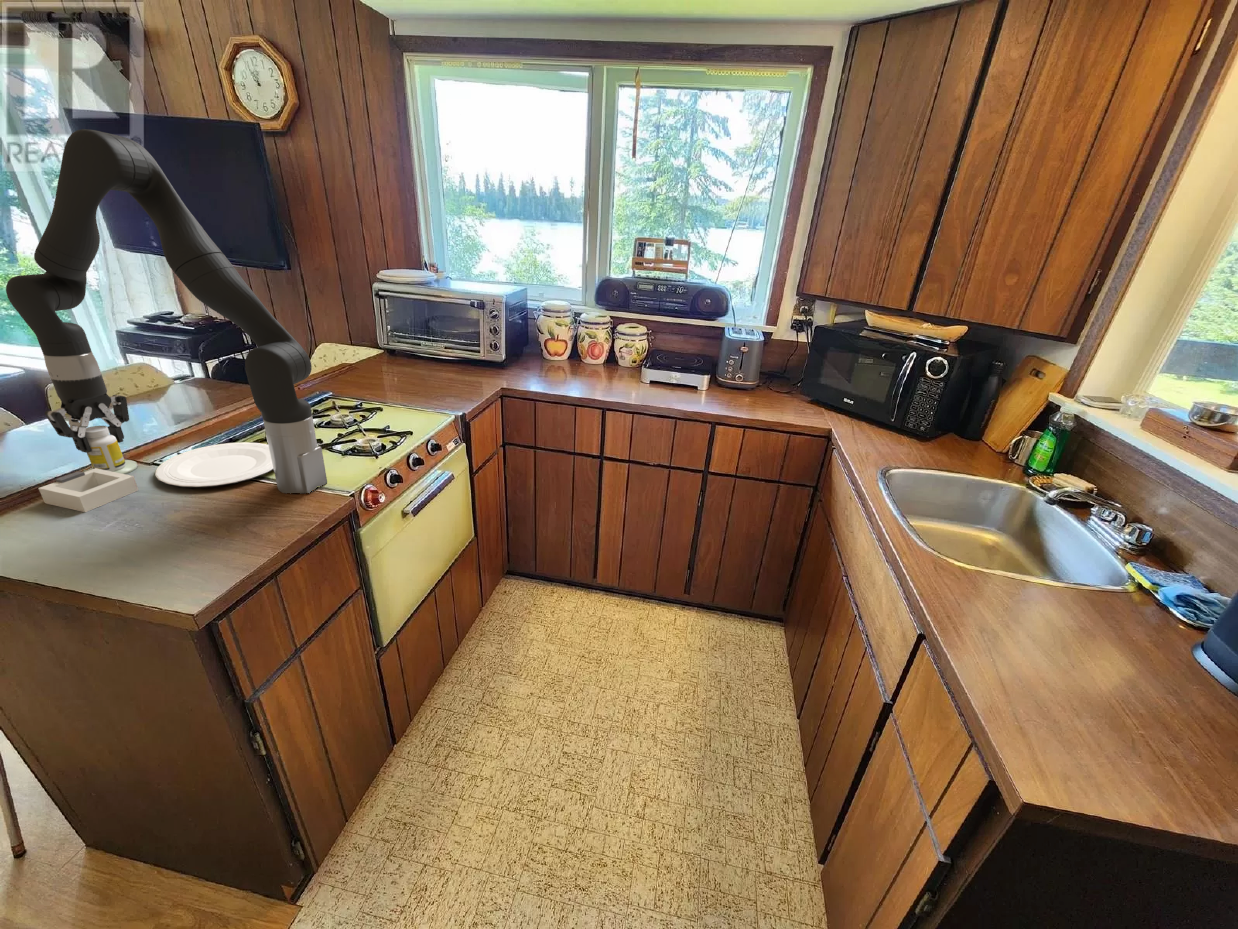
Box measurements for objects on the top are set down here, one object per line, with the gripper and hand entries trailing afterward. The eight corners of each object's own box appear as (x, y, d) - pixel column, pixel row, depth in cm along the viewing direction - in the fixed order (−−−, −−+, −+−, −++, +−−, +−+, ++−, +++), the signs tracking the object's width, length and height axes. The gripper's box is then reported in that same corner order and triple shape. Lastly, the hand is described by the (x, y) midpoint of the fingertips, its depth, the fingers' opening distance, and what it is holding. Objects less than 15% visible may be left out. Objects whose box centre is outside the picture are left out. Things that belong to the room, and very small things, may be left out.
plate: (254, 440, 136) (252, 434, 136) (306, 467, 126) (305, 460, 125) (137, 470, 116) (134, 463, 116) (187, 505, 106) (185, 497, 105)
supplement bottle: (123, 460, 118) (109, 422, 114) (128, 468, 115) (114, 429, 111) (91, 467, 114) (75, 427, 110) (96, 475, 111) (80, 435, 107)
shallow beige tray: (138, 490, 108) (132, 473, 107) (85, 512, 99) (78, 494, 98) (100, 482, 110) (94, 465, 108) (45, 503, 101) (37, 485, 99)
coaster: (147, 465, 118) (147, 463, 118) (105, 481, 110) (104, 479, 110) (116, 459, 119) (115, 457, 119) (72, 474, 111) (71, 472, 111)
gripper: (48, 384, 98) (79, 461, 105) (127, 368, 111) (150, 438, 118) (18, 379, 99) (50, 455, 106) (99, 364, 112) (123, 433, 119)
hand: (102, 446), depth 112 cm, fingers open, 5 cm apart
